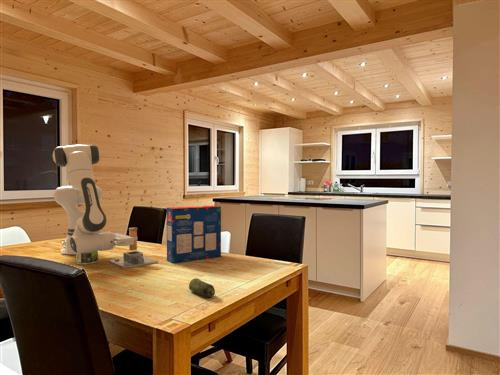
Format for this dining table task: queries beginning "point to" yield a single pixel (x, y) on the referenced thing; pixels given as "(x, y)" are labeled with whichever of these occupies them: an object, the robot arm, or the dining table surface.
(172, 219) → the blue board game box
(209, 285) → the vegetable
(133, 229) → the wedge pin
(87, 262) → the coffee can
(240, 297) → the dining table surface
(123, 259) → the grey square base plate
